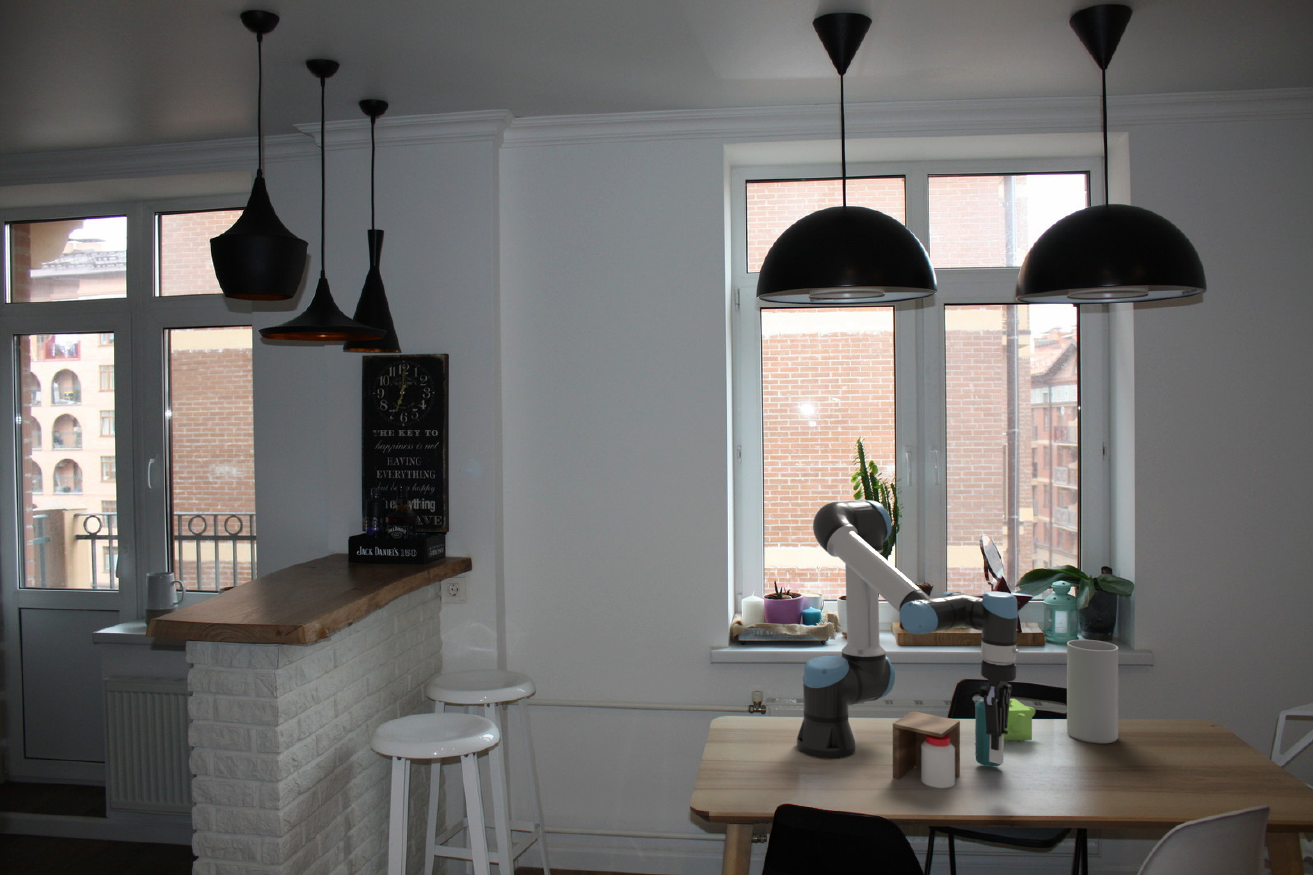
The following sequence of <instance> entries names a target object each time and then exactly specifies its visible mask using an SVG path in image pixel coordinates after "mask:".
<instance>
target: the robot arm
mask: <svg viewBox="0 0 1313 875" xmlns="http://www.w3.org/2000/svg"><path fill="white" fill-rule="evenodd" d="M812 529H813V530H812V531H813V533H814V534H813V535H814V537H815V539H816V541H817V543H818V544H819V545H820V547H821V548H822V549H823V550H824V551H825V552H826V553H828V555H830V556H831V557H834V558H839V560H841V561H842V562H843V563H845V604H846V605H845V607H846V644H845V646H844V647H843V648H842V649H841V656H840V655H835V654H834V655H831V654H830V655H821V656H816V657H813V658H811V659H809V660H807V662H806V663H805V664H804V667H803V677H802V683H803V685H802V687H803V689H802V692H803V719H802V722H801V725H800V728H799V731H798V734H797V737H796V748H797V750H798V751H799V752H801V753H802V754H803V755H807V756H809V757H813V758H818V759H825V760H827V759H829V760H831V759H832V760H833V759H844V758H848V757H851V756H852V755H853V754H855V753H856V741H855V740H856V739H855V737H854V733H853V731H852V728H851V725H850V720H849V706H852V705H857V704H861V703H866V702H874V701H877V700H879V699H881V698H884V697H886V696H888V695H889V693H891V691H892V690H893V688H894V686H895V682H896V671H895V666H894V665H893V664H892V661H891V659H890V658H889V656H886V650H885V649H884V647H882V646H881V644H880V611H879V607H880V606H879V605H880V604H879V601H880V600H879V596H880V597H882V598H883V599H884V600H885V601H886V602H887V603H888V604H890V606H892V607H893V608H894V609H895V610H896V611H897V612H899V613H898V614H899V615H898V617H899V621H900V623H901V625H902V628H903V629H904V630H905V631H906V632H908V633H909V634H912V635H927V634H930V633H934V632H938V631H939V632H940V631H947V630H951V629H958V628H969V629H973V630H977V631H980V632H981V646H980V647H981V649H980V657H981V658H982V659H981V662H980V675H981V676H982V677H983V678H984V679H987V681H988V684H987V694H988V696H984V697H982V699H984V704H985V716H986V734H990V751H989V762H993V763H997V764H1001V765H1003V763H1004V753H1005V752H1004V751H1005V750H1004V748H1005V746H1004V745H1005V744H1004V743H1005V742H1004V735H1003V734H1008V731H1006V730H1005V729H1007V727H1008V725H1007V724H1008V714H1009V703H1010V699H1011V693H1012V689H1013V687H1012V685H1011V684H1009V682H1013V681H1014V680H1016V678H1017V664H1016V663H1015V662H1016V661H1017V654H1019V653H1020V651H1019V649H1018V648H1017V641H1018V640H1017V636H1018V635H1017V634H1018V633H1017V631H1018V618H1019V611H1018V599H1017V597H1016V595H1014V594H1013V593H1009V592H1005V591H1003V592H1002V591H997V590H995V591H993V590H992V591H987V592H984V593H983V595H982V597H979V596H975V595H970V594H967V593H963V592H960V591H951V590H949V591H948V590H947V591H944V592H943V593H942V594H941V595H939V596H938V597H931V596H930V595H928V593H926V592H925V591H924V590H922V589H921V588H920V587H919V586H917V585H916V584H915V583H914V582H913V581H912V580H911V579H909V578H908V576H906V575H905V574H904V573H902V571H901V570H899V569H898V568H897V567H896V566H895V565H894V564H892V563H891V562H890V561H889V560H888V559H887V558H885V556H883V555H882V554H881V553H882V552H883V551H884V542H886V541H887V540H888V538H889V536H890V535H891V534H892V519H891V515H890V514H889V512H888V510H887V509H886V508H885V507H884V505H882V504H881V503H879V502H878V501H875V500H869V499H868V500H867V499H866V500H865V499H860V500H859V499H858V500H848V501H833V502H829V503H827V504H824V506H822V507H820V508H819V510H818V511H817V512H816V514H815V515H814V519H813V523H812Z"/></svg>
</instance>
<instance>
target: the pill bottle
mask: <svg viewBox="0 0 1313 875" xmlns="http://www.w3.org/2000/svg"><path fill="white" fill-rule="evenodd" d="M920 781H921V782H922V783H923V784H924V785H926V786H928V787H933V788H938V789H947V788H948V789H949V788H952V787H954V786H955V785H956V776H955V747H954V746H953V745H952V744H951V743H950V736H949V735H947V734H946V735H944V736H943V737H937V736H933V735H928V734H926V740H925V741H924V742H923V743H922V744H921V768H920Z"/></svg>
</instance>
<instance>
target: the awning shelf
mask: <svg viewBox="0 0 1313 875" xmlns="http://www.w3.org/2000/svg"><path fill="white" fill-rule="evenodd" d="M926 734H928V735H933V736H937V737H943V736H944V735H946V734H947V735H949V736H950V743H951V744H952V745H953V746H954V747H955V778H958V777H959V776H960V775H961V770H960V769H961V750H960V749H961V720H958V719H955V718H949V717H944V716H939V715H934V714H929V713H924V712H919V711H914V710H912V711H910V712H908V713H907V714H906V715H903V716H902V717H901V718H899V719H897V720H895V722H893V723H892V779H893V780H897V781H900V780H901V779H902V778H903V777H904V776H906V775H907V774H909V773H910V772H911V771H912V770H914V769H915V768H919V769H921V744H922V743H923V742H924V741H925V740H926Z"/></svg>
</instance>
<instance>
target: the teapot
mask: <svg viewBox="0 0 1313 875" xmlns="http://www.w3.org/2000/svg"><path fill="white" fill-rule="evenodd" d="M1035 714H1036V709H1035V708H1034V707H1032V706H1027V705H1024V704H1023V703H1021V702H1020V701H1019V700H1017V699H1016V698H1010V703H1009V714H1008V724H1007V725H1008V727H1007V729H1005V730H1006V731H1008V734H1003V735H1004V743H1007V741H1016V742H1020V743H1025V741H1032V740H1033V717H1034V716H1035Z"/></svg>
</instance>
